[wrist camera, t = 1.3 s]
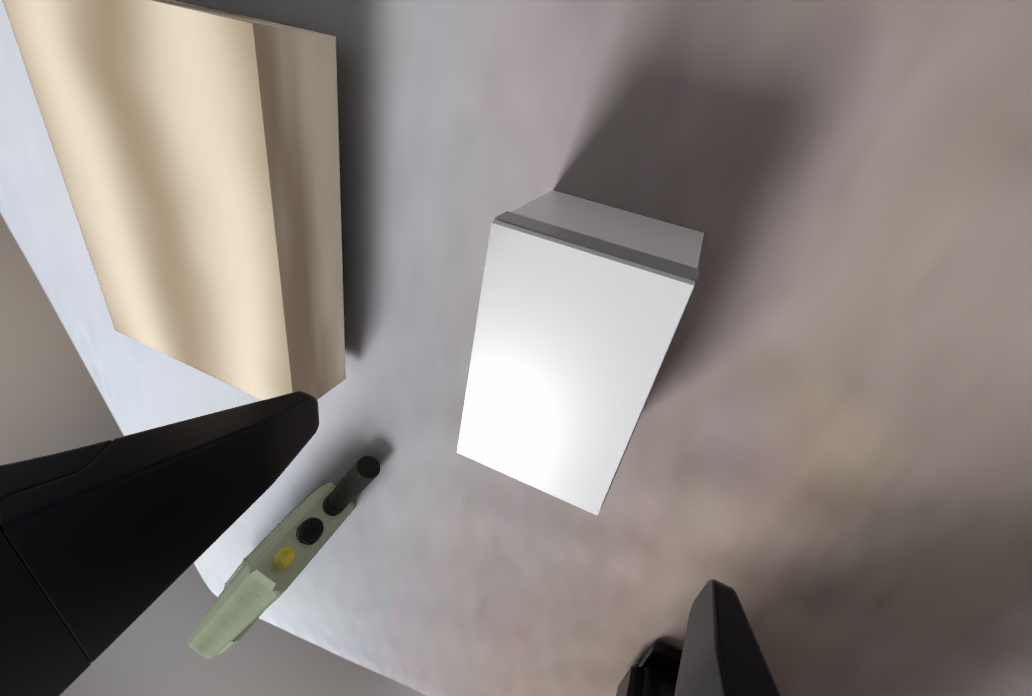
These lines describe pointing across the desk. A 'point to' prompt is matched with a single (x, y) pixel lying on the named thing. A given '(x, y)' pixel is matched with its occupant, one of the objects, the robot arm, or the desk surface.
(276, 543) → the handheld radio
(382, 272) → the desk surface
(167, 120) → the cream rectangular block
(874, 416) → the desk surface
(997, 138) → the desk surface
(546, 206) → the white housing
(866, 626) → the desk surface
